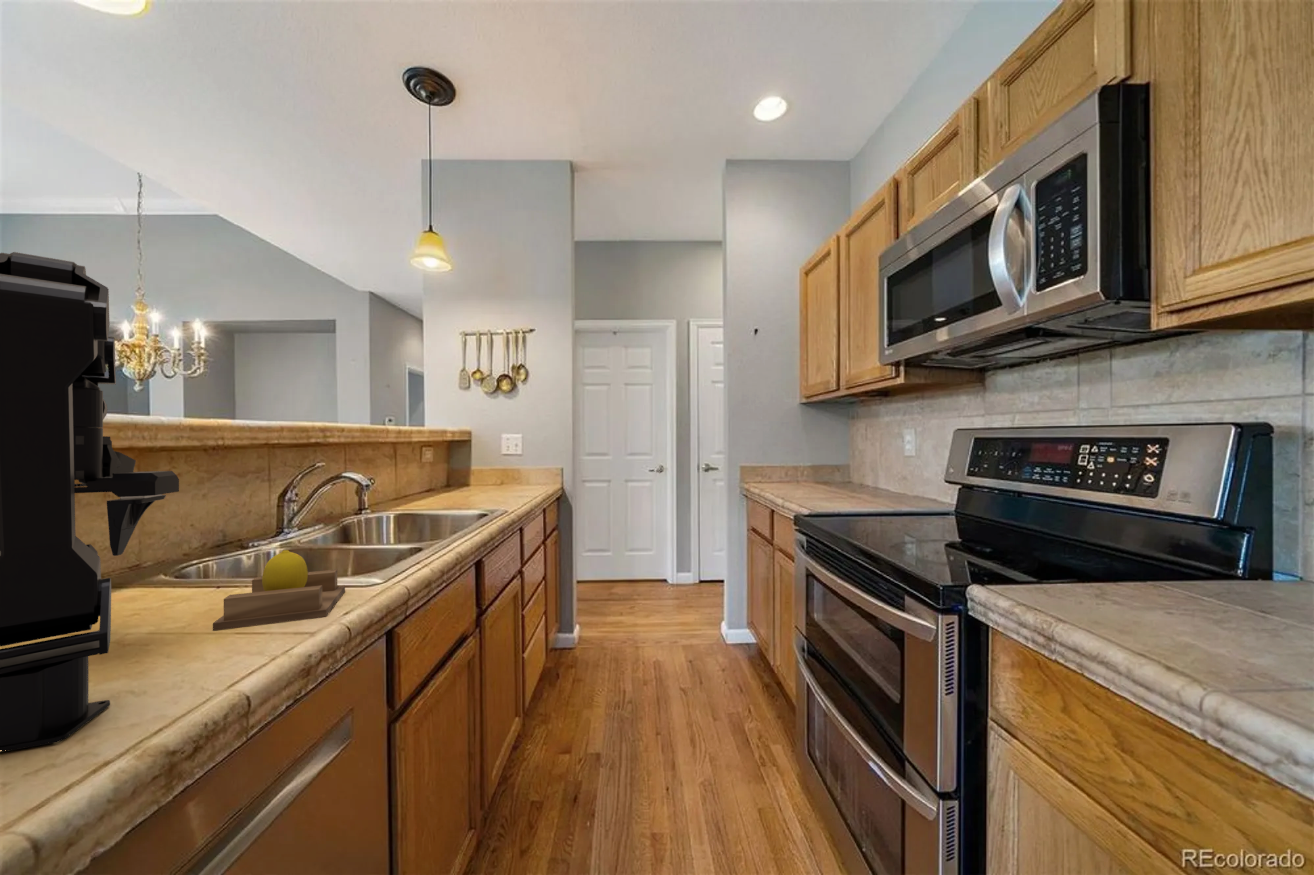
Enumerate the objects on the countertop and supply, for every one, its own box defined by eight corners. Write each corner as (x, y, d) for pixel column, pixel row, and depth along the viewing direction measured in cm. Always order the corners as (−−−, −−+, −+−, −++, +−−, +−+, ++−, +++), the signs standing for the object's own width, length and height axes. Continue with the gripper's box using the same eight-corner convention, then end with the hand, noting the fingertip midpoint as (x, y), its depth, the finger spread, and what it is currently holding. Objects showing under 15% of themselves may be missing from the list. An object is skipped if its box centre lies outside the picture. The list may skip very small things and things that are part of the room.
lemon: (283, 609, 71) (283, 555, 71) (252, 607, 72) (252, 553, 72) (316, 597, 76) (316, 546, 76) (287, 595, 78) (287, 545, 78)
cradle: (326, 616, 71) (326, 589, 71) (212, 630, 66) (212, 601, 66) (345, 591, 83) (344, 568, 83) (250, 601, 78) (250, 576, 78)
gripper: (201, 429, 69) (201, 539, 69) (17, 429, 62) (16, 551, 62) (152, 427, 58) (152, 557, 58) (-75, 427, 52) (-76, 573, 52)
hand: (66, 558), depth 58 cm, fingers open, 9 cm apart
